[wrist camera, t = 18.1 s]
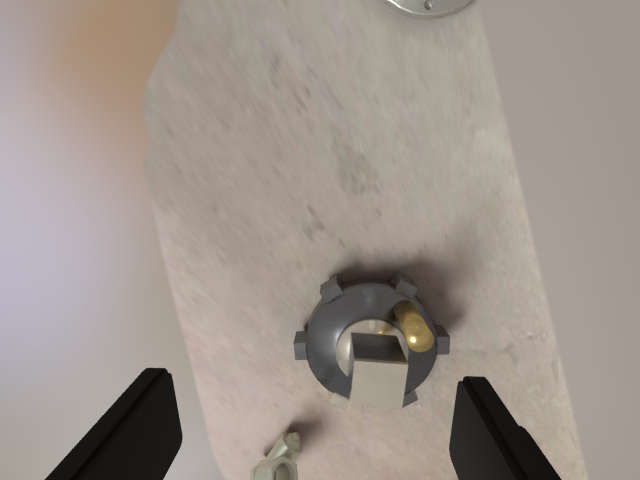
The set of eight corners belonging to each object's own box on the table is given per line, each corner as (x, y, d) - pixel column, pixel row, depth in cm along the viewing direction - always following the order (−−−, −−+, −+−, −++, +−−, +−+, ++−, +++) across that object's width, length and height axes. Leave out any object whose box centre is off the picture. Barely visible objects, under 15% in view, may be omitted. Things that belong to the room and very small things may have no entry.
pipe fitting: (289, 423, 39) (264, 484, 34) (313, 439, 39) (292, 501, 35) (267, 431, 45) (243, 484, 40) (288, 444, 45) (267, 499, 40)
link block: (347, 372, 34) (350, 405, 29) (351, 332, 32) (354, 360, 28) (391, 375, 33) (401, 410, 29) (396, 335, 32) (408, 364, 27)
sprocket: (388, 242, 34) (406, 266, 25) (463, 358, 37) (501, 413, 28) (272, 314, 36) (255, 357, 28) (351, 417, 39) (356, 483, 31)
